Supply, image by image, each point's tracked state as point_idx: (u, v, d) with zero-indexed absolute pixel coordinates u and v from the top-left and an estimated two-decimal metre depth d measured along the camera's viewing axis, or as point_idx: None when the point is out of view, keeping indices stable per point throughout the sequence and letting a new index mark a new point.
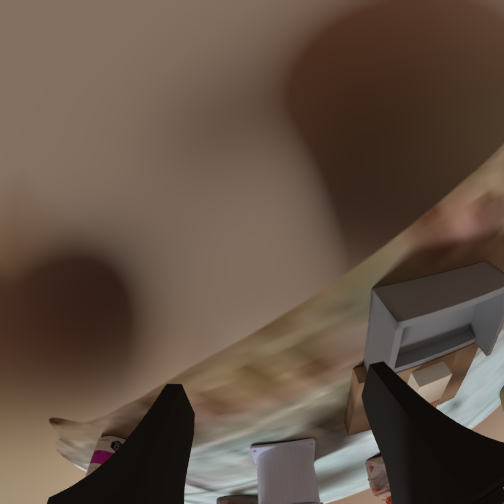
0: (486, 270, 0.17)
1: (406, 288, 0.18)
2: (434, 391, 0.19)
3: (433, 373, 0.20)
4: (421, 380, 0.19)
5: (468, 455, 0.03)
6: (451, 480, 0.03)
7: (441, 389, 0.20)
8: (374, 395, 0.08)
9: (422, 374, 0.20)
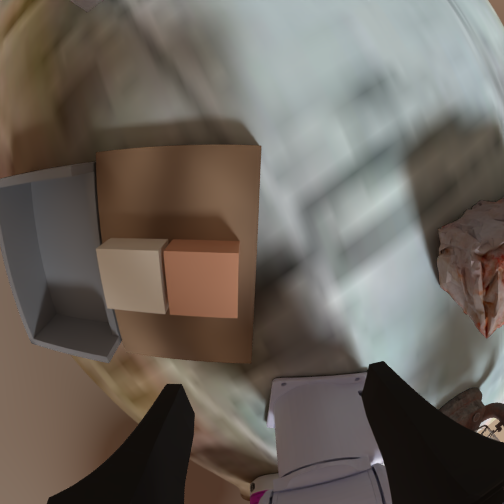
0: None
1: None
2: (127, 275, 0.15)
3: None
4: None
5: (468, 455, 0.03)
6: (451, 480, 0.03)
7: (127, 259, 0.14)
8: (374, 395, 0.08)
9: None
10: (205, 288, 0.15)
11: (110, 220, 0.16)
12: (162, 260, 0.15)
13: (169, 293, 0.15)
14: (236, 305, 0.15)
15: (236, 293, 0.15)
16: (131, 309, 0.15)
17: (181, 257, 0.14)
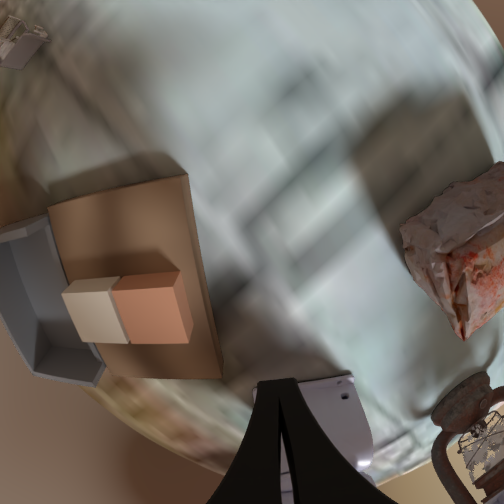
0: None
1: None
2: (89, 313, 0.15)
3: None
4: None
5: None
6: None
7: (86, 300, 0.15)
8: (280, 412, 0.08)
9: None
10: (153, 319, 0.15)
11: (71, 265, 0.16)
12: None
13: (126, 326, 0.16)
14: (184, 332, 0.16)
15: (181, 321, 0.15)
16: (100, 341, 0.16)
17: (126, 295, 0.15)
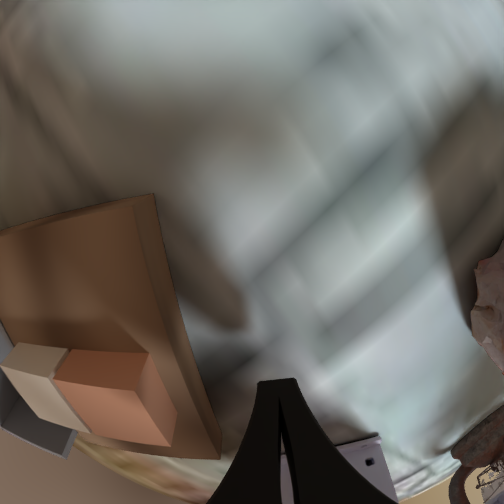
0: None
1: None
2: (36, 395, 0.08)
3: None
4: None
5: None
6: None
7: (28, 381, 0.08)
8: (280, 412, 0.08)
9: None
10: (116, 419, 0.09)
11: (10, 324, 0.09)
12: None
13: (83, 418, 0.09)
14: (162, 437, 0.09)
15: (155, 427, 0.09)
16: (58, 423, 0.09)
17: (73, 388, 0.08)
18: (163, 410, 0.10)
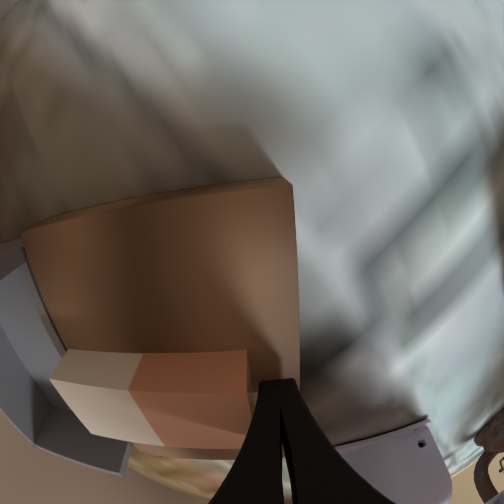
0: None
1: None
2: (99, 410, 0.08)
3: None
4: None
5: None
6: None
7: (92, 395, 0.08)
8: None
9: None
10: (204, 427, 0.08)
11: (69, 329, 0.09)
12: None
13: (155, 430, 0.09)
14: None
15: None
16: (120, 439, 0.09)
17: (157, 398, 0.08)
18: None
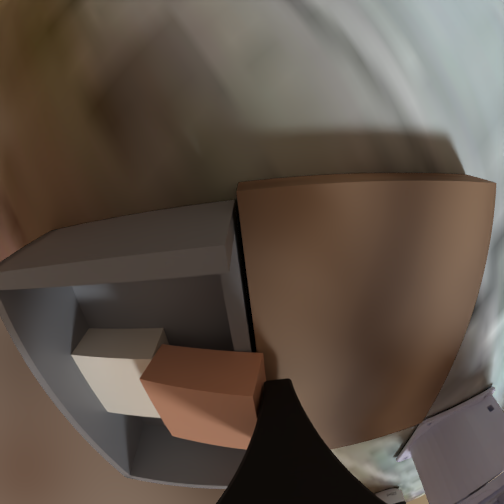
0: None
1: None
2: (119, 384, 0.10)
3: None
4: None
5: None
6: None
7: (114, 368, 0.09)
8: None
9: None
10: (211, 424, 0.09)
11: (278, 321, 0.09)
12: None
13: (164, 419, 0.09)
14: None
15: None
16: (136, 414, 0.11)
17: (166, 390, 0.08)
18: None
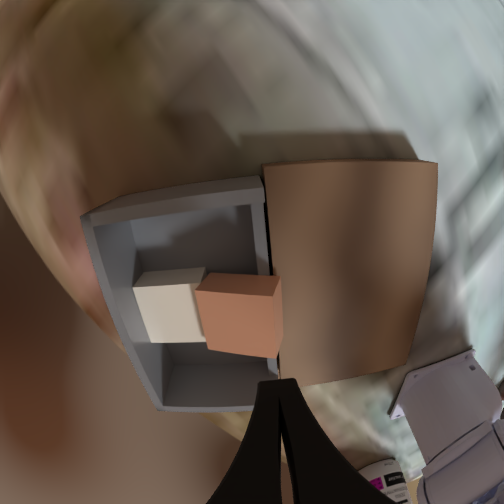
0: None
1: None
2: (169, 309, 0.15)
3: None
4: None
5: None
6: None
7: (168, 294, 0.15)
8: (280, 412, 0.08)
9: None
10: (241, 328, 0.14)
11: (287, 250, 0.14)
12: None
13: (205, 330, 0.15)
14: (274, 346, 0.14)
15: (273, 335, 0.13)
16: (177, 341, 0.16)
17: (213, 297, 0.14)
18: (279, 325, 0.14)
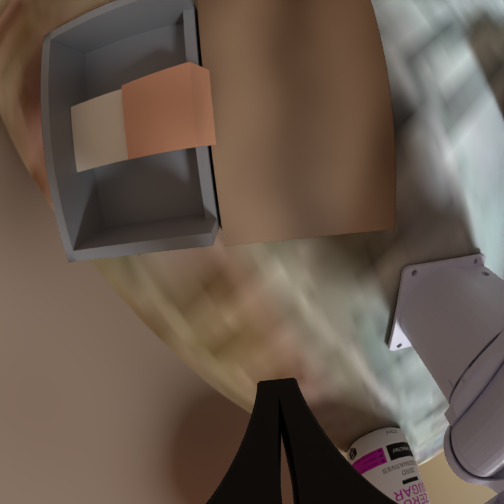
0: None
1: None
2: (98, 123, 0.12)
3: None
4: None
5: None
6: None
7: (100, 105, 0.12)
8: (280, 412, 0.08)
9: None
10: (159, 113, 0.11)
11: (217, 50, 0.11)
12: None
13: (126, 131, 0.12)
14: (194, 127, 0.11)
15: (192, 110, 0.10)
16: (101, 163, 0.13)
17: (136, 85, 0.11)
18: (204, 113, 0.11)
